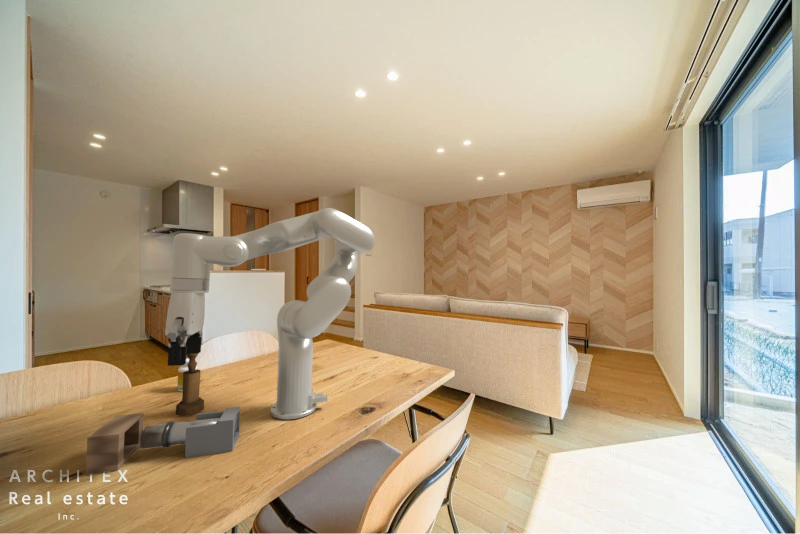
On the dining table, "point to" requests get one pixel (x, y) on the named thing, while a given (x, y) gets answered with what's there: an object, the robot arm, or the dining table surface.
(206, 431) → the sleeve
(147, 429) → the slip tube
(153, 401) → the dining table surface
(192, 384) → the brown wooden upright piece
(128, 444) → the socket block
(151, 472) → the dining table surface
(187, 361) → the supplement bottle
